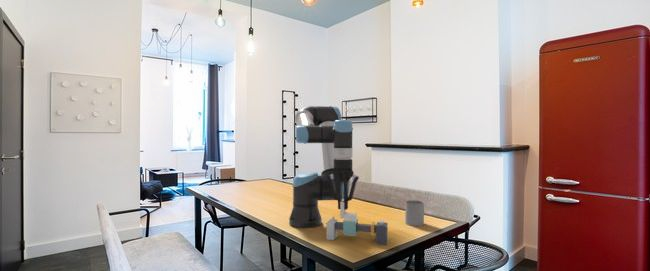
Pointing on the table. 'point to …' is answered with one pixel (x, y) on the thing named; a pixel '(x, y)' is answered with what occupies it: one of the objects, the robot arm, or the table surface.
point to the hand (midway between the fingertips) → (342, 217)
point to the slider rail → (379, 229)
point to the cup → (414, 213)
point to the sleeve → (350, 224)
